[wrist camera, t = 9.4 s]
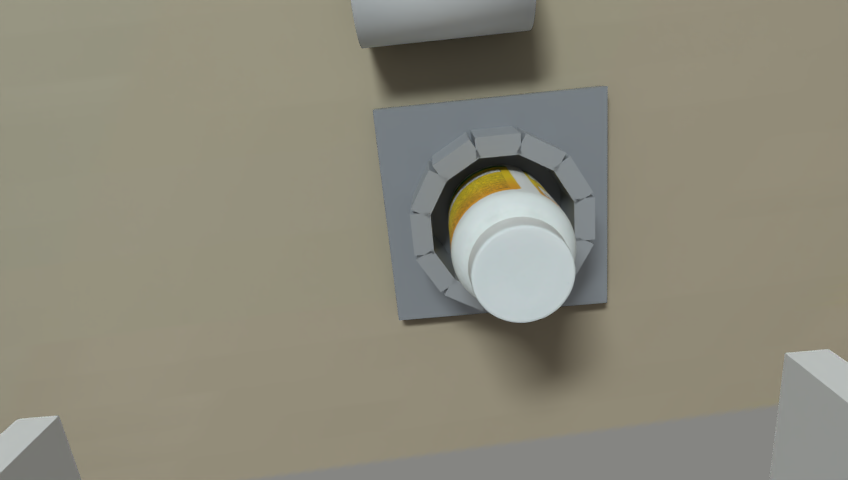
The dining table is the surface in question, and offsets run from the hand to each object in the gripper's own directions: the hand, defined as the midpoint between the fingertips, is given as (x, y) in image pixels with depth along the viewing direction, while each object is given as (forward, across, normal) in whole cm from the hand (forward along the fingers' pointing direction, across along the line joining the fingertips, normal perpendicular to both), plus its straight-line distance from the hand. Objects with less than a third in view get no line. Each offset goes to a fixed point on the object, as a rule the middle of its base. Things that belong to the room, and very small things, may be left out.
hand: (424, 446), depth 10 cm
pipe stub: (+21, +2, +10) cm, 23 cm away
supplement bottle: (+21, +4, -1) cm, 21 cm away
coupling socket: (+21, +4, -1) cm, 22 cm away
